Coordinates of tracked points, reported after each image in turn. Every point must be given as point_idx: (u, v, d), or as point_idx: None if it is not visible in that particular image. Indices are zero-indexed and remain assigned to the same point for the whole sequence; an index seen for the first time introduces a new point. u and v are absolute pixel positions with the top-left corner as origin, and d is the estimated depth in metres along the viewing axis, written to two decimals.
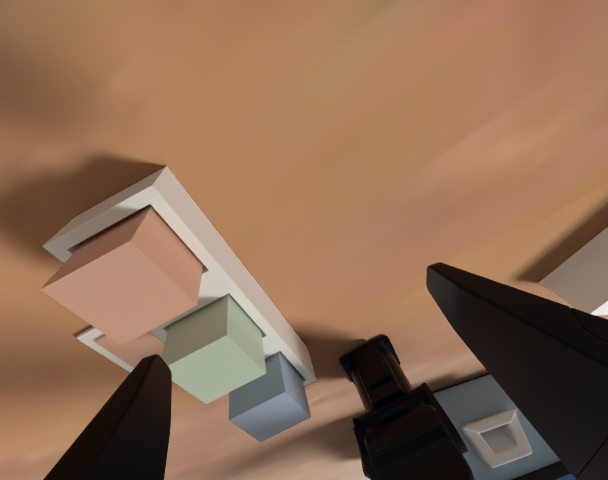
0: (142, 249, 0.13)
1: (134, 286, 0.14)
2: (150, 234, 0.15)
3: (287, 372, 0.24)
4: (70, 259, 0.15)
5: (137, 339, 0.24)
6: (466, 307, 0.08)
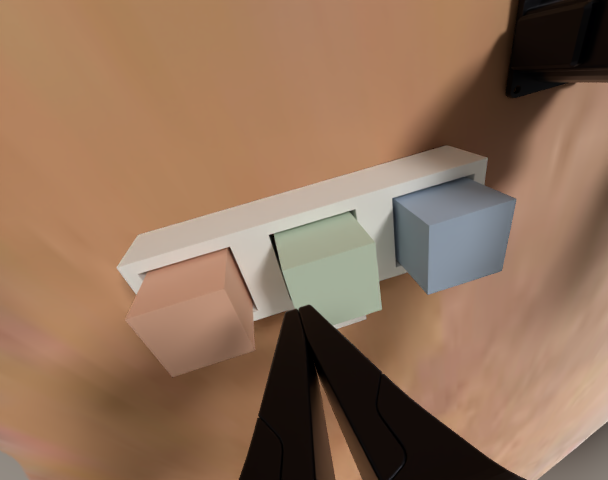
0: (140, 312, 0.14)
1: (183, 328, 0.15)
2: (148, 292, 0.15)
3: (425, 202, 0.16)
4: None
5: None
6: (314, 359, 0.07)
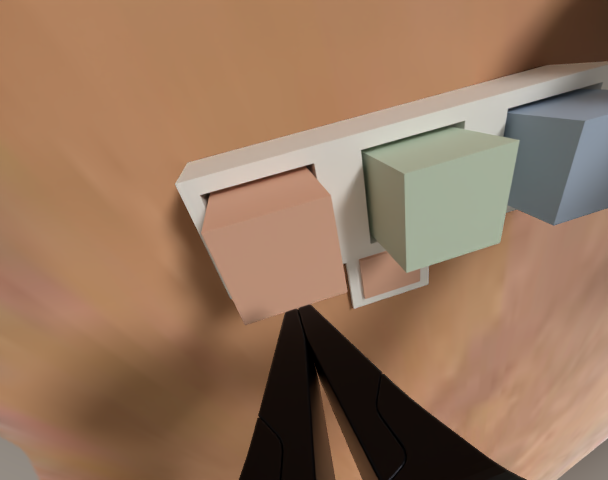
0: (220, 225, 0.10)
1: (270, 253, 0.11)
2: (221, 209, 0.12)
3: (555, 109, 0.13)
4: None
5: (383, 268, 0.22)
6: (314, 359, 0.07)
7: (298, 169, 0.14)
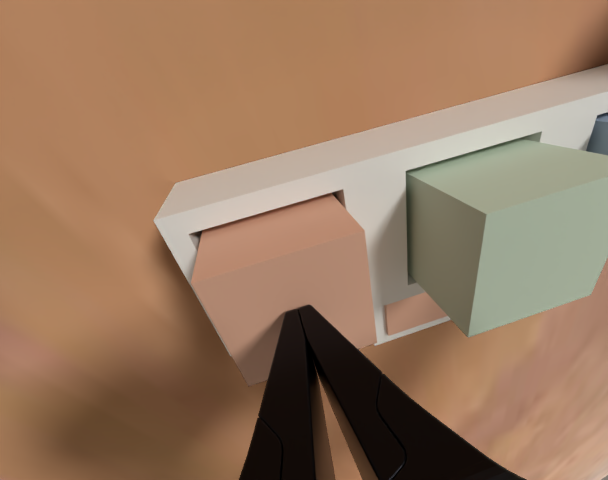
0: (217, 272, 0.08)
1: (283, 303, 0.09)
2: (219, 244, 0.09)
3: None
4: None
5: (411, 301, 0.19)
6: (314, 359, 0.07)
7: None
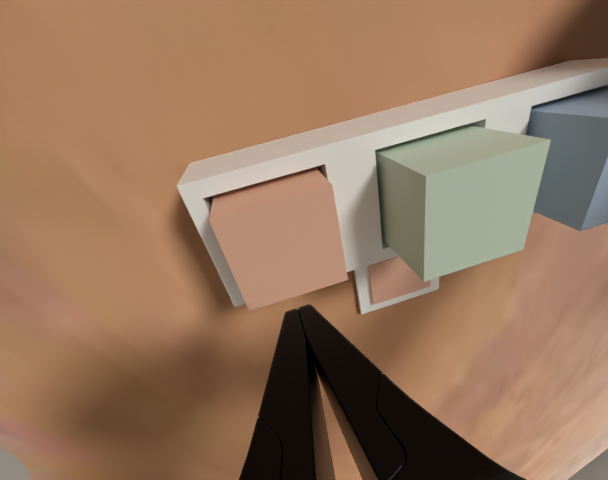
0: (227, 213, 0.11)
1: (274, 240, 0.12)
2: (228, 199, 0.12)
3: (583, 106, 0.12)
4: None
5: (392, 272, 0.21)
6: (314, 359, 0.07)
7: None
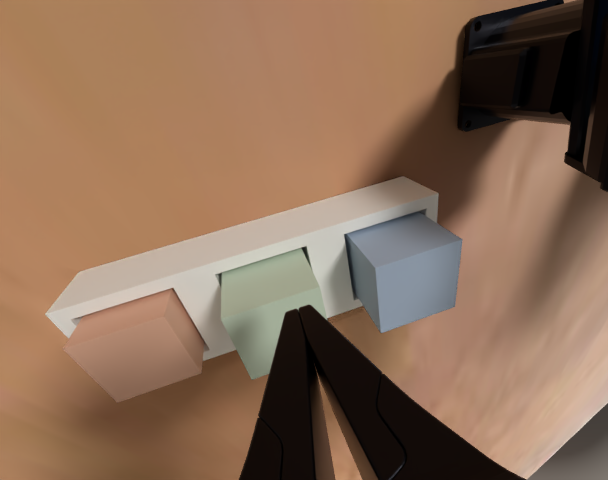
0: (78, 341, 0.14)
1: (124, 355, 0.15)
2: (91, 319, 0.15)
3: (375, 240, 0.16)
4: None
5: None
6: (314, 359, 0.07)
7: None
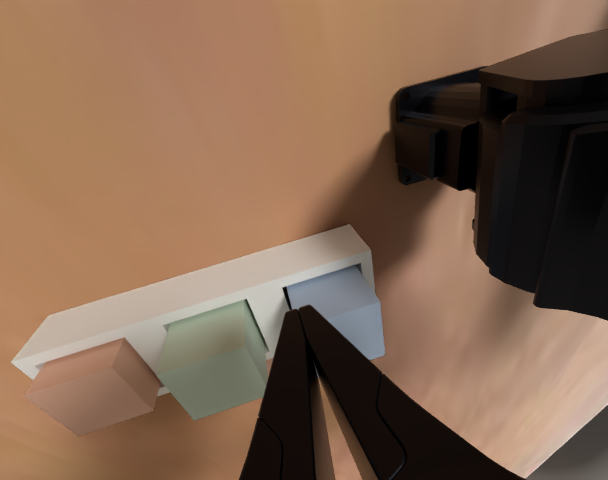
0: (37, 389, 0.16)
1: (79, 399, 0.17)
2: (52, 365, 0.17)
3: (308, 295, 0.18)
4: None
5: None
6: (314, 359, 0.07)
7: None
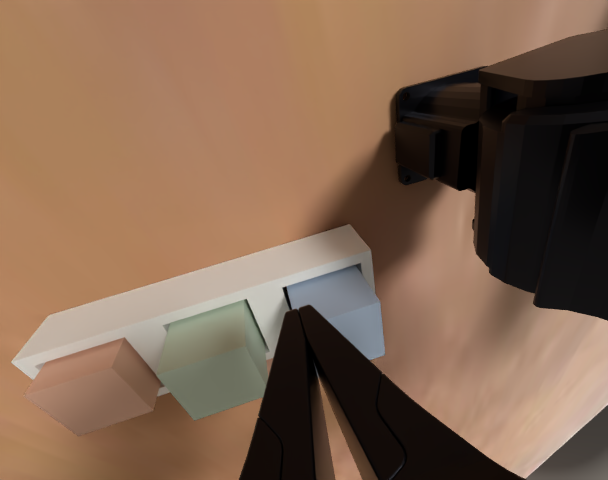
0: (37, 389, 0.16)
1: (79, 399, 0.17)
2: (52, 365, 0.17)
3: (308, 295, 0.18)
4: None
5: None
6: (314, 359, 0.07)
7: None
